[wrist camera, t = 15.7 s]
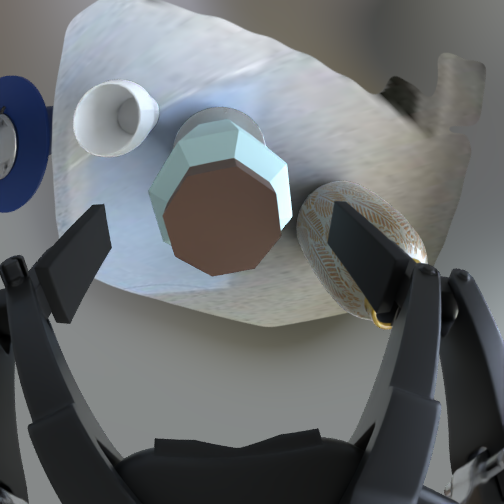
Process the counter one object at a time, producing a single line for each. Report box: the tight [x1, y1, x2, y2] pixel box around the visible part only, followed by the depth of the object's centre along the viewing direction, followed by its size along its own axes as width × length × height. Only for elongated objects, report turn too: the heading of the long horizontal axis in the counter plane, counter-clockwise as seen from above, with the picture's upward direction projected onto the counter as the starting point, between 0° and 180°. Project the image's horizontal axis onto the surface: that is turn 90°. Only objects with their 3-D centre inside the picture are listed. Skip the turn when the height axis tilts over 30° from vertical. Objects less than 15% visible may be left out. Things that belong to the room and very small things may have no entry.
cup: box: [73, 79, 159, 157], centre depth 33 cm, size 11×11×15 cm
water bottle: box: [148, 119, 292, 276], centre depth 26 cm, size 10×10×25 cm
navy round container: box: [173, 107, 265, 149], centre depth 41 cm, size 13×13×9 cm
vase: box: [296, 181, 428, 329], centre depth 42 cm, size 17×17×27 cm
